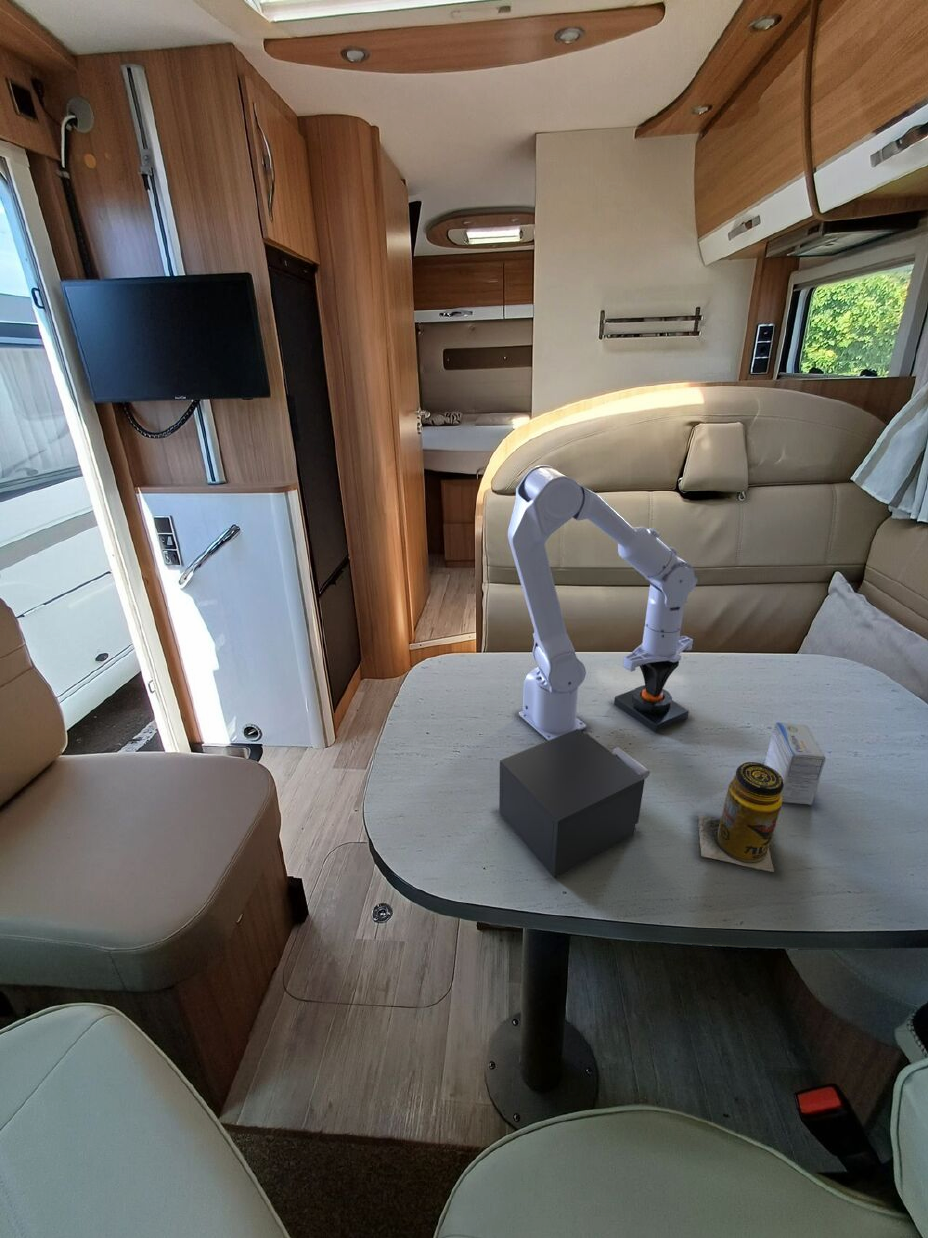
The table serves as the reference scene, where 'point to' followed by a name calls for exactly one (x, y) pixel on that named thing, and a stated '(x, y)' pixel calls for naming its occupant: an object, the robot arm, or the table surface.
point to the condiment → (745, 819)
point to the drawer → (629, 767)
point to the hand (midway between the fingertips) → (652, 693)
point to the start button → (651, 697)
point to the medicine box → (796, 761)
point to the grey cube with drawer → (568, 800)
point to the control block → (651, 709)
